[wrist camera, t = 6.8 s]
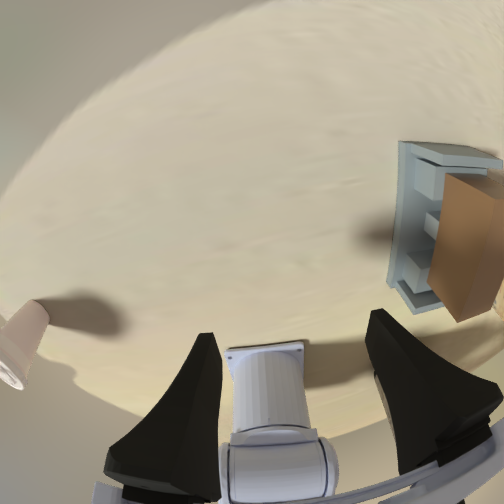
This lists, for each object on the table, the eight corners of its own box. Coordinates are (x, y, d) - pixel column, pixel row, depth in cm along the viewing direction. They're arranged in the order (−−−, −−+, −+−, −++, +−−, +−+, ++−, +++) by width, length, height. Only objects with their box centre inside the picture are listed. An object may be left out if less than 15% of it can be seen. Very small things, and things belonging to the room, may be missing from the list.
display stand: (449, 269, 22) (474, 296, 18) (386, 281, 23) (408, 316, 19) (468, 146, 16) (506, 160, 12) (398, 140, 17) (436, 154, 12)
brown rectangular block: (459, 274, 19) (490, 309, 14) (426, 282, 19) (457, 322, 14) (479, 173, 14) (525, 198, 10) (445, 172, 14) (494, 199, 10)
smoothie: (25, 281, 22) (-40, 372, 10) (65, 318, 24) (13, 419, 12) (15, 306, 24) (-36, 386, 12) (50, 338, 26) (8, 424, 14)
